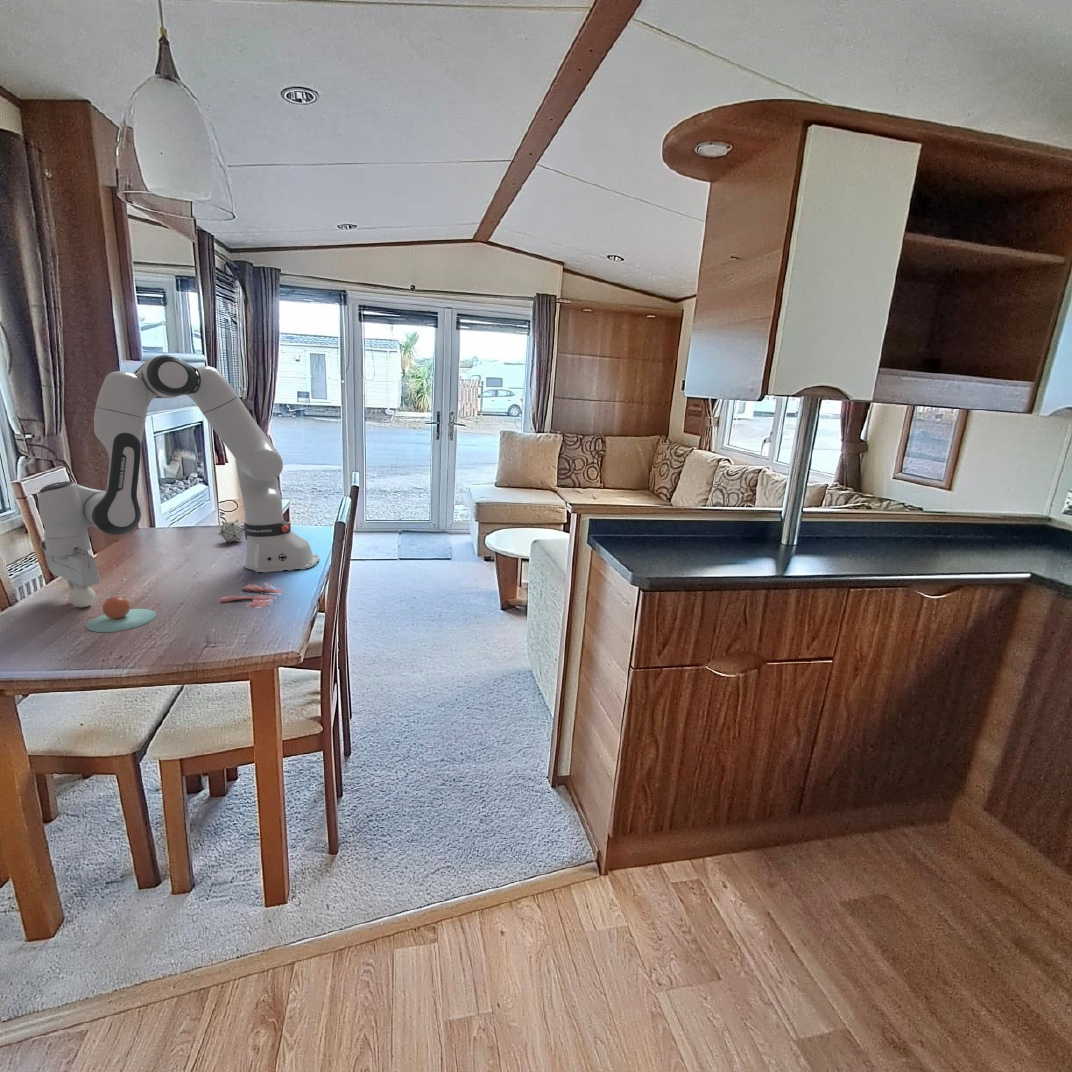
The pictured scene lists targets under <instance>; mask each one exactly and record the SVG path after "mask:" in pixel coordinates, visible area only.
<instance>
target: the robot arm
mask: <svg viewBox="0 0 1072 1072" xmlns="http://www.w3.org/2000/svg"><path fill="white" fill-rule="evenodd" d="M184 395H185V396H186V397H189V398H190V399H191V400H192V401H193V402H194V403H195V404H196V406H197V408H199V410H200V411H201V413H202V414H203V416H204V418H205V419H206V421H207V422H208V424H209V425H210V426H211V428H212V429H213V431H214V432H215V434H216V435H217V436H218V438H219V439H220V440H221V441H222V443H223V444H224V446H225V447H226V448H227V449H228V451H229V452H230V453H231V454H232V456H233V457H234V459H235V465H236V470H237V476H238V483H239V488H240V493H241V497H242V503H243V511H244V512H243V514H244V521H245V522H244V523H243V529H244V530H243V534H244V537H245V540H246V553H245V561H244V568H246V569H247V570H252V571H254V572H255V573H258V572H263V573H272V572H273V573H274V572H284V571H283V570H288V571H294V570H293V569H301V570H307V569H306V568H309V569H311V568H310V567H311V566H313V565H315V566H317V565H318V563H319V562H320V556H319V555H318V554H316V553H313V552H312V548H311V545H310V542H308V541H307V540H306V539H304V538H302V537H301V536H299V535H298V534H296V533H294V532H293V531H292V529H291V528H292V527H291V526H292V523H291V521H287V520H285V519H284V514H283V513H284V510H283V502H282V501H283V500H282V499H283V498H282V494H281V492H280V491H281V490H280V487H279V482H278V477H279V476H280V475H281V474H282V472H283V467H284V463H283V459H282V456H281V455H280V453H279V452H278V450H277V449H276V447H275V446H274V445H273V443H272V442H271V440H270V439H269V438H268V437H267V435H266V433H265V431H263V430H262V428H261V426H259V424H258V423H257V422H256V420H255V419H254V418H253V416H252V414H251V413H250V412H249V410H248V408H247V406H245V404H244V402H243V401H242V398H240V396H239V395H238V393H237V392H236V391H235V389H234V388H233V386H232V384H231V383H230V382H229V381H228V380H227V379H226V378H225V376H224V375H223V374H222V373H221V372H220V371H219V370H218V369H217V368H215V367H212V366H210V365H204V366H203V365H202V366H199V367H195V366H193V365H191V364H189V363H188V362H187V361H185V360H183V359H181V358H180V357H177V356H175V355H171V354H162V355H159V356H158V355H156V356H154V357H153V356H152V357H151V358H149V359H148V360H146V361H145V362H144V363H142V364H141V365H140V366H139V367H138V368H137V370H135V371H134V372H129V371H123V370H117V371H113V372H112V371H111V372H110V373H108V374H107V375H106V376H105V378H104V380H103V382H102V385H101V387H100V390H99V393H98V396H97V400H96V404H95V409H94V415H93V431H94V434H95V437H96V438H97V439H98V440H99V442H101V444H102V445H103V447H104V448H105V450H106V452H107V454H108V459H109V461H108V462H109V464H108V465H109V466H108V474H107V481H106V482H107V484H106V490H101V489H95V488H90V487H86V486H83V485H80V484H78V483H76V482H74V481H68V480H67V481H59V482H54V483H50V484H47V485H45V486H43V487H42V488H41V489H39V492H38V496H37V497H38V498H37V501H38V512H39V517H40V521H41V523H42V524H43V526H44V533H43V537H44V539H43V540H41V541H40V544H39V545H40V548H41V549H42V550H43V552H44V556H45V560H46V563H47V568H48V569H49V571H50V572H51V574H53V575H55V576H58V577H60V578H63V579H65V580H66V582H67V585H68V587H69V589H70V592H71V591H72V590H73V589H74V588H76V587H79V586H83V587H92V586H95V585H98V584H99V583H100V580H101V578H100V574H99V570H98V567H97V563H96V560H95V558H94V557H93V556H92V555H91V554H88V552H89V551H90V550H91V549H92V546H91V542H90V536H89V532H88V531H89V528H93V527H96V528H98V529H99V530H101V531H102V532H103V533H105V534H108V535H112V536H119V535H125V534H128V533H130V532H131V531H133V530H134V529H136V527H138V525H139V523H140V521H141V517H142V512H141V507H140V504H139V501H138V484H139V483H138V482H139V474H140V466H141V453H142V452H141V449H142V441H143V435H144V431H145V426H146V419H147V415H148V408H149V406H150V403H151V402H152V401H153V399H173V398H176V397H180V396H184ZM318 561H319V562H318ZM317 562H318V563H317Z"/></svg>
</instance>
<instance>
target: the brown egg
mask: <svg viewBox="0 0 1072 1072" xmlns="http://www.w3.org/2000/svg"><path fill="white" fill-rule="evenodd" d="M130 604H131V603H130V602H129V600H127V599H126V598H125V597H122V596H113V597H110V598H108V599H107V600H106V601H105V602H104V603H103V605H102V613H103V615H106V616H107V617H109V618H111V619H120V618H122V617H124V616H126V615H127V614H128V612H129V610H130V609H131V605H130Z"/></svg>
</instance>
